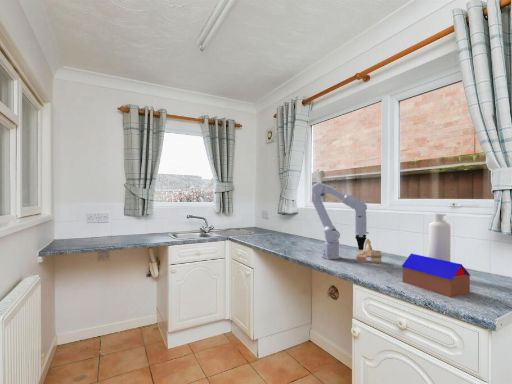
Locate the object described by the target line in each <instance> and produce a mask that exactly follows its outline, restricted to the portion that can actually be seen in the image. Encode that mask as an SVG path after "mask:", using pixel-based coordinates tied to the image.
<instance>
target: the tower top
mask: <svg viewBox="0 0 512 384" xmlns="http://www.w3.org/2000/svg"><path fill="white" fill-rule="evenodd" d="M371 258H381V259H382V250H374V249H372V250H371V257H370V259H371Z"/></svg>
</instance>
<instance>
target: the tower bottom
mask: <svg viewBox="0 0 512 384" xmlns="http://www.w3.org/2000/svg"><path fill="white" fill-rule="evenodd" d="M370 263H371V264H380V265H382V257H381V258H371V257H370Z"/></svg>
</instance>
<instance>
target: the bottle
mask: <svg viewBox="0 0 512 384" xmlns="http://www.w3.org/2000/svg"><path fill="white" fill-rule="evenodd" d="M432 216H433V220H432V222H430V223H429V225H428V257H430V258H435V259H439V260H444V261H449V262H451V225H450V224H449V223H448V222H447V215H446V213H433V215H432Z"/></svg>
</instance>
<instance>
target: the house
mask: <svg viewBox="0 0 512 384" xmlns="http://www.w3.org/2000/svg"><path fill="white" fill-rule="evenodd" d="M401 267H402V283H404V284H408V285H410V286H412V287H413V286H414V287H416V288H420V289H423V290H425V291H430V292H432V293H435V294H437V295H442V296H445V297H448V298H451V299H452V298H456V297H460V296H464V295H469V294H471V292H470V291H471V290H470V289H471V288H470V287H471V285H470V284H471V283H470V282H471V281H470V280H471V277H472V275H471V273H469V271H468V270H467V269H466V268H465V267H464V266H463V264H462V263H457V262H453V261H450V262H449V261H444V260H439V259H435V258H430V257H429V256H425V255H421V254H420V255H419V254H415V253H410V254H409V255H408V257H407V258H406V260H404V262H403V264H402V265H401Z"/></svg>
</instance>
